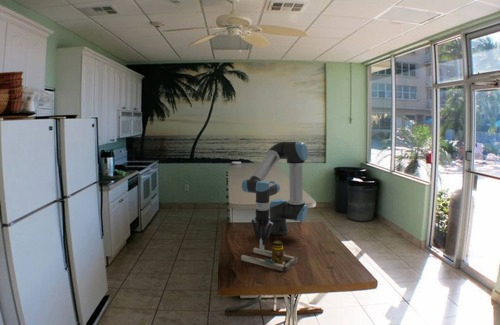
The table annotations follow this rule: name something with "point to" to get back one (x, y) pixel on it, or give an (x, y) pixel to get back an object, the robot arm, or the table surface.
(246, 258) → the rail track
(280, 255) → the condiment
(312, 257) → the table surface
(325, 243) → the table surface
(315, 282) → the table surface
